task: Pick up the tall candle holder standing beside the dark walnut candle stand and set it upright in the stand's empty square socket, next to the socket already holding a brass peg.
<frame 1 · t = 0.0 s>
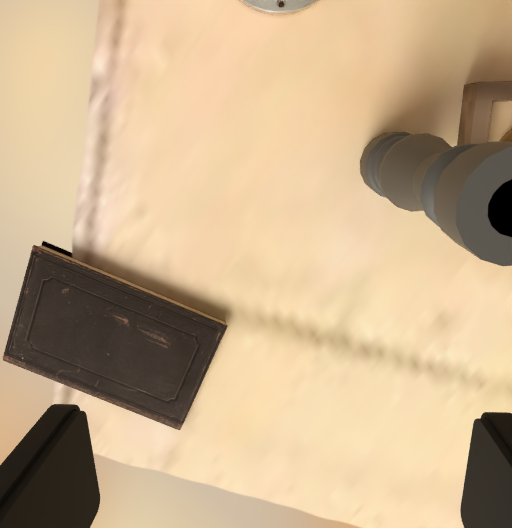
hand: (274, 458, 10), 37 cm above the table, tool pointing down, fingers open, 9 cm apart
candle holder: (390, 163, 44), on the table
hardcover book: (118, 335, 52), on the table
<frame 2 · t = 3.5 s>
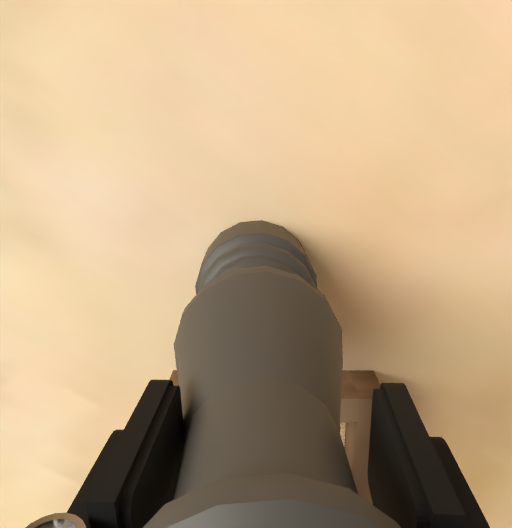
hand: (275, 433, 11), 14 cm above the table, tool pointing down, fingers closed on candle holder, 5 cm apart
candle holder: (255, 272, 25), on the table, touching gripper
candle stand: (272, 520, 30), on the table
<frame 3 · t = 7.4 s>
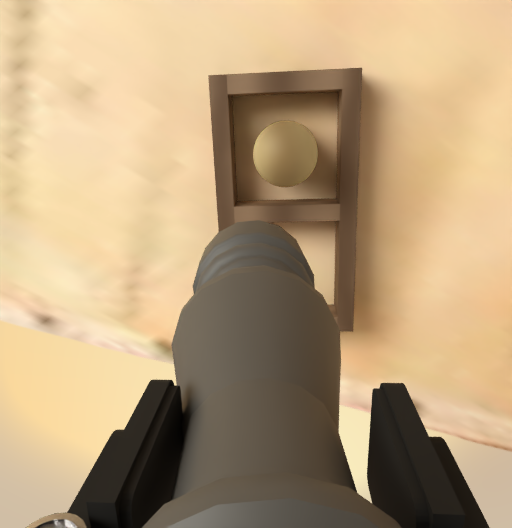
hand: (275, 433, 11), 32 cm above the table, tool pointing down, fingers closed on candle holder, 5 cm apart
candle holder: (253, 271, 25), point 17 cm above the table, touching gripper
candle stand: (286, 207, 41), on the table
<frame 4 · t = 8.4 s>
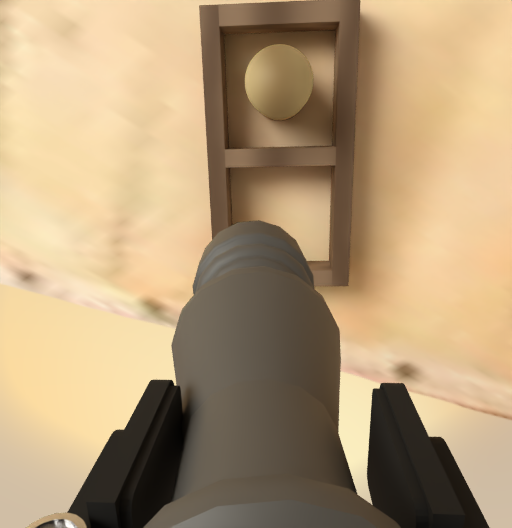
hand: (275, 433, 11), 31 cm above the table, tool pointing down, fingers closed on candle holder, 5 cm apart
candle holder: (253, 272, 25), point 17 cm above the table, touching gripper
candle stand: (280, 155, 39), on the table
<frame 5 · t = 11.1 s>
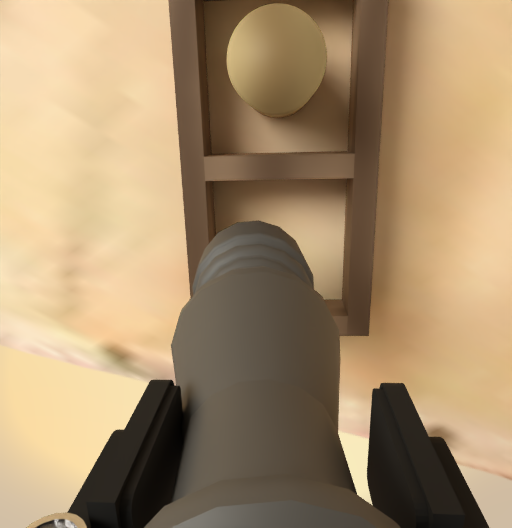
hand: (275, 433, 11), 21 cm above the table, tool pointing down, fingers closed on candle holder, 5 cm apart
candle holder: (252, 272, 25), point 7 cm above the table, touching gripper
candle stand: (278, 163, 30), on the table
when the fingers open (16 cm above the table, at t = 13.6 s): candle holder drops 2 cm, resting in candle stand.
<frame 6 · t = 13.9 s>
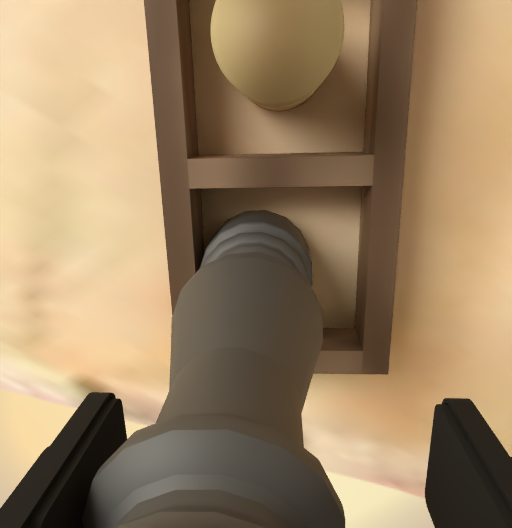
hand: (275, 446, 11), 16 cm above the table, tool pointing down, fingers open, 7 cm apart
candle holder: (258, 258, 27), resting in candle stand
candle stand: (280, 167, 25), on the table
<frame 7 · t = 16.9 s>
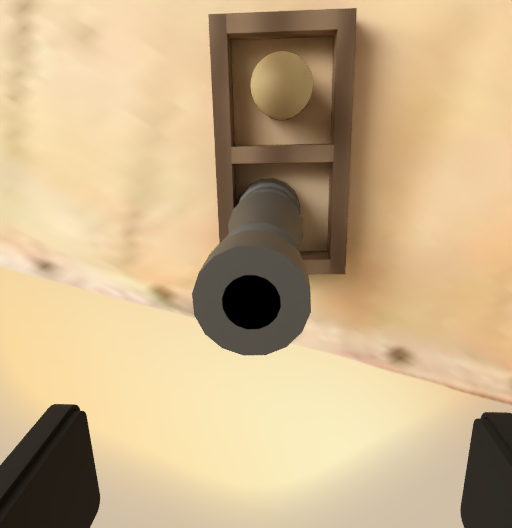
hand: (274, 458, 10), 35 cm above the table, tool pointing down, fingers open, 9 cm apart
candle holder: (269, 208, 44), resting in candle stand
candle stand: (282, 152, 42), on the table
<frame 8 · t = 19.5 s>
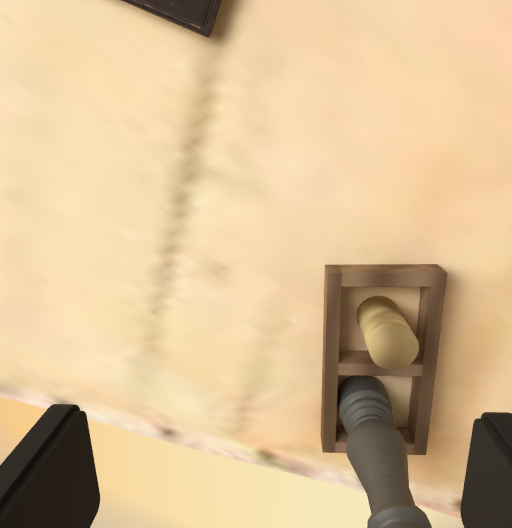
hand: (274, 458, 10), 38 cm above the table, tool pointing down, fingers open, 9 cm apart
candle holder: (360, 394, 54), resting in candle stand
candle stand: (374, 356, 52), on the table
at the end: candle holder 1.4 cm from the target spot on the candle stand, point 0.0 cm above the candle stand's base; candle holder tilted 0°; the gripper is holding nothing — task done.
